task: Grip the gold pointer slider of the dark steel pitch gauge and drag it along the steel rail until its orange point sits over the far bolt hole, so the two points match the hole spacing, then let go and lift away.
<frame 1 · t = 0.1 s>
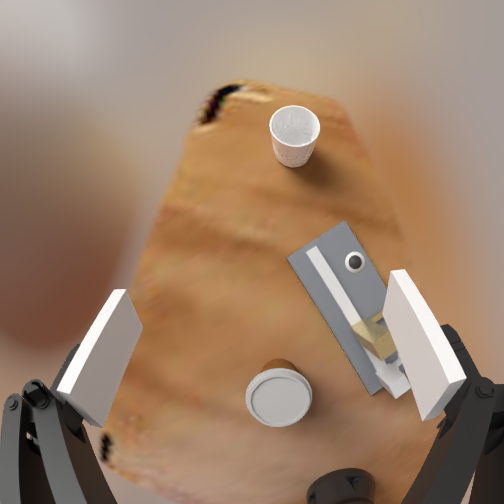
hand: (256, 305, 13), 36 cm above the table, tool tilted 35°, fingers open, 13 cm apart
white cup: (292, 152, 51), on the table
gauge plate: (359, 311, 47), on the table
gold pointer slider: (382, 327, 38), point 9 cm above the table, slide at 0.0 cm
disposable coffee cup: (279, 374, 47), on the table
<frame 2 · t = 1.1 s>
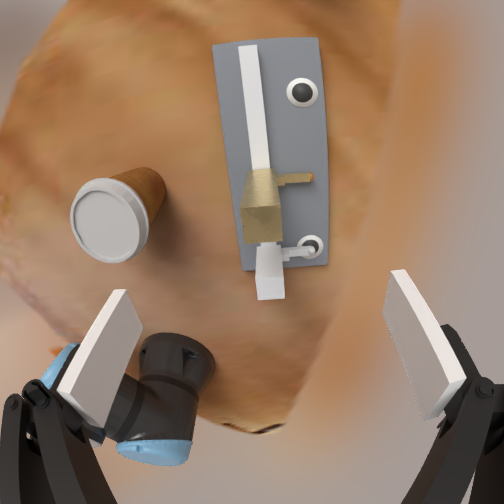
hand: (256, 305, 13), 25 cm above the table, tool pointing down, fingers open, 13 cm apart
gauge plate: (277, 157, 34), on the table
gold pointer slider: (285, 195, 27), point 9 cm above the table, slide at 0.0 cm
disposable coffee cup: (144, 189, 36), on the table
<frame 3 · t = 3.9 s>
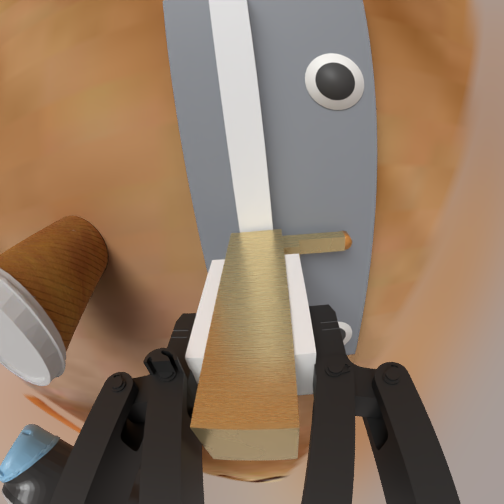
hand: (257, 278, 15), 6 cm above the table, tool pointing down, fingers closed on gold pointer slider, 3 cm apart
gauge plate: (285, 201, 19), on the table
gold pointer slider: (305, 308, 13), point 9 cm above the table, slide at 0.0 cm, touching gripper
disposable coffee cup: (80, 246, 22), on the table
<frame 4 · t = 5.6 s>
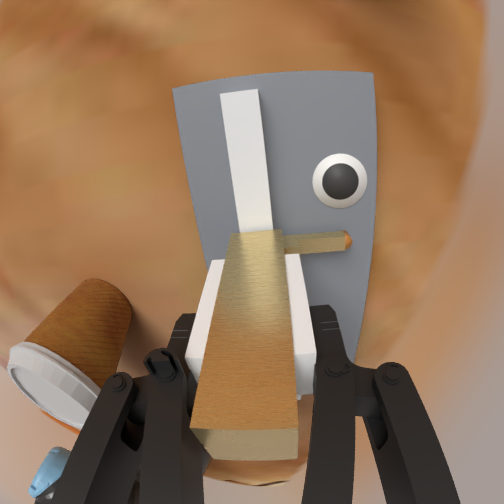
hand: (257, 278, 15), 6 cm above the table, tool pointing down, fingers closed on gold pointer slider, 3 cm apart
gauge plate: (290, 277, 22), on the table
gold pointer slider: (305, 308, 13), point 9 cm above the table, slide at 6.4 cm, touching gripper
disposable coffee cup: (105, 303, 25), on the table
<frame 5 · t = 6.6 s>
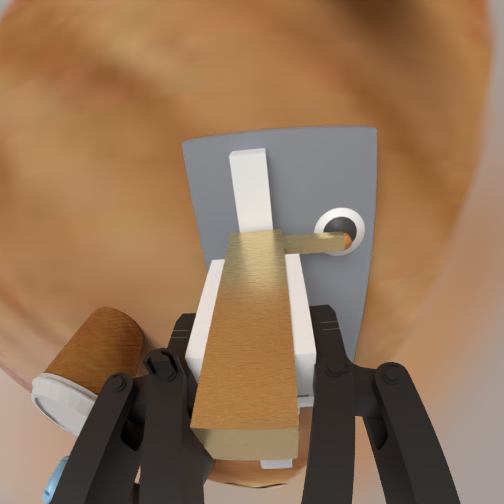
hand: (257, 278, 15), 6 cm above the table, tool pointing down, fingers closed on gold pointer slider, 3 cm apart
gauge plate: (291, 311, 24), on the table
gold pointer slider: (304, 308, 13), point 9 cm above the table, slide at 9.9 cm, touching gripper
disposable coffee cup: (117, 328, 27), on the table
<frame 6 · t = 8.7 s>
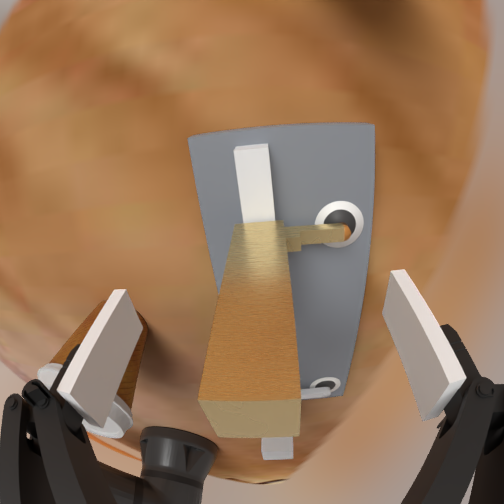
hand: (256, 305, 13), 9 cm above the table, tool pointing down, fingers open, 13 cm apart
gauge plate: (292, 302, 25), on the table
gold pointer slider: (305, 293, 14), point 9 cm above the table, slide at 10.0 cm
disposable coffee cup: (122, 320, 28), on the table
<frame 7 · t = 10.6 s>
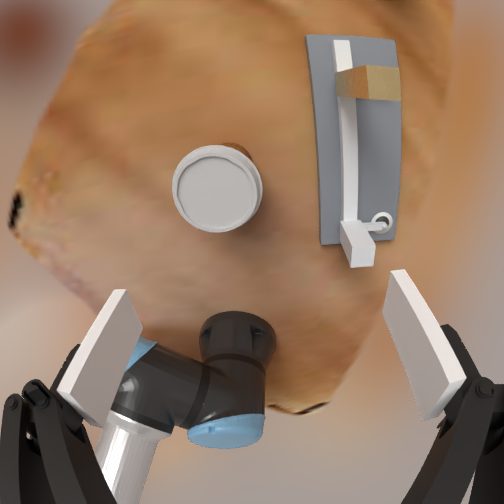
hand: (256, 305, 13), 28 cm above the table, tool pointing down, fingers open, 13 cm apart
gauge plate: (358, 141, 35), on the table
gold pointer slider: (380, 85, 23), point 9 cm above the table, slide at 10.0 cm
disposable coffee cup: (229, 164, 38), on the table
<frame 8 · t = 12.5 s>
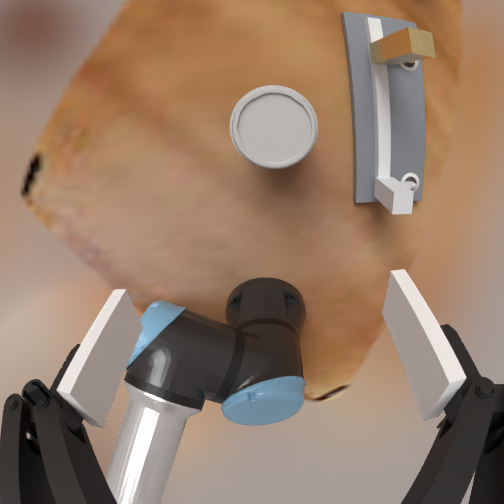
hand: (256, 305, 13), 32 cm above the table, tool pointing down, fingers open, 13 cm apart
gauge plate: (387, 107, 35), on the table
gold pointer slider: (411, 52, 24), point 9 cm above the table, slide at 10.0 cm
disposable coffee cup: (271, 121, 38), on the table
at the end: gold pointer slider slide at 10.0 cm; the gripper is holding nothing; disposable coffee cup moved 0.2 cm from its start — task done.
